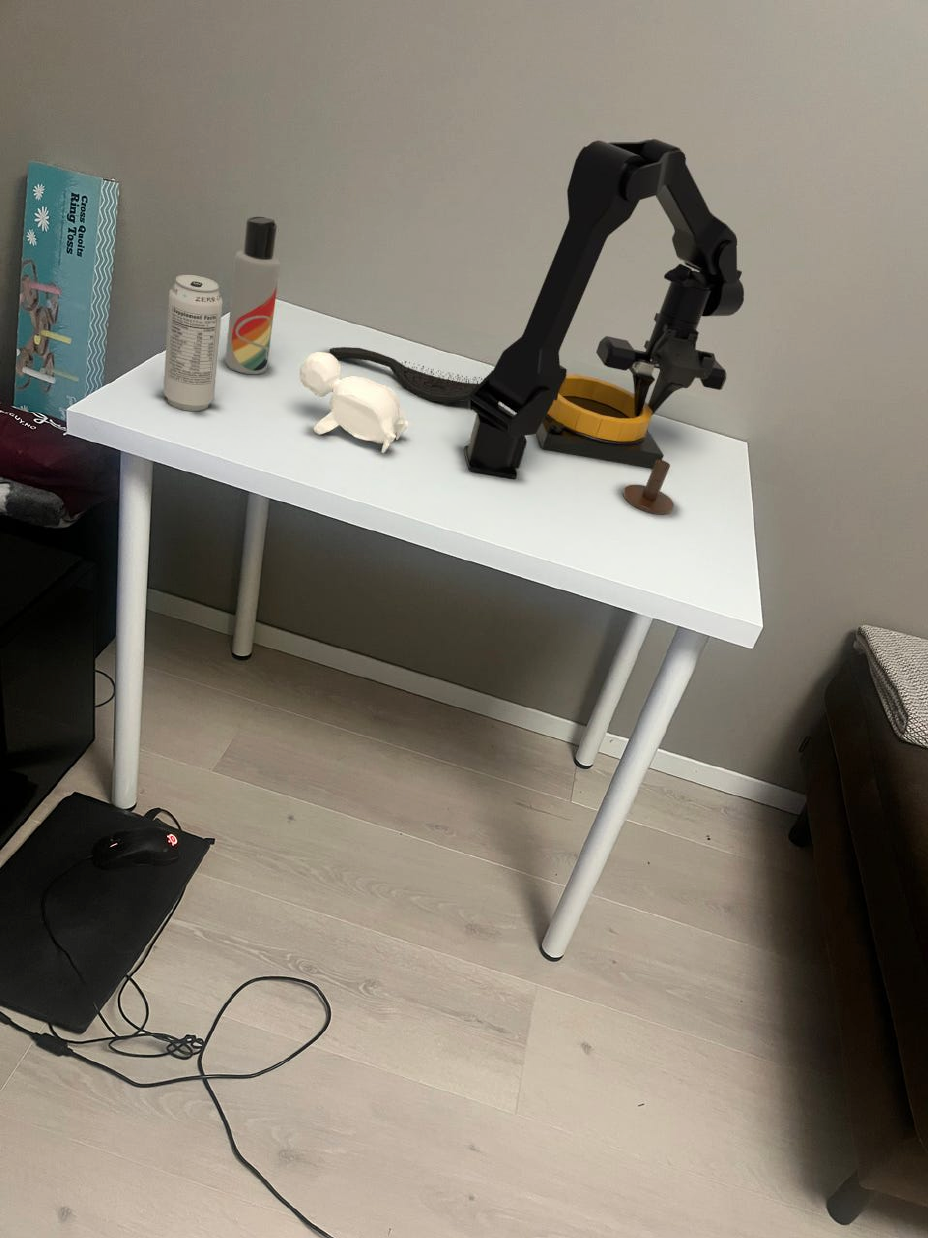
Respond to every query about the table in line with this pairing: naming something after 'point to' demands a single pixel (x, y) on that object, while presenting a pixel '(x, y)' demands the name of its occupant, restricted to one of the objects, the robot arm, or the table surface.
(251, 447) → the table surface
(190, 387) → the energy drink can
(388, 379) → the table surface
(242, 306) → the lotion bottle
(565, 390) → the ring
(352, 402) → the white turtle figurine
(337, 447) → the table surface
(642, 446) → the hot plate
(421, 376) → the hairbrush
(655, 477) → the peg
